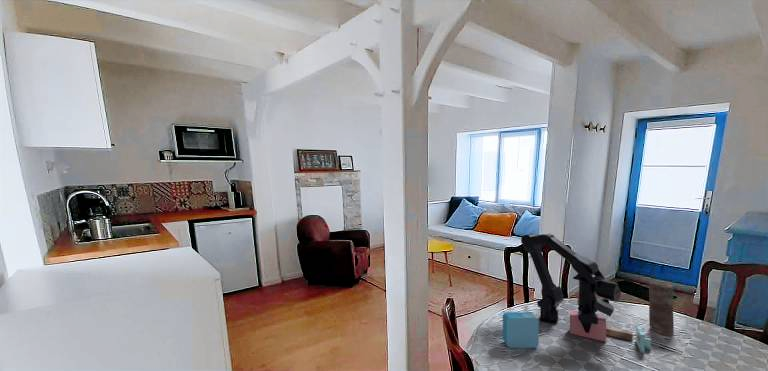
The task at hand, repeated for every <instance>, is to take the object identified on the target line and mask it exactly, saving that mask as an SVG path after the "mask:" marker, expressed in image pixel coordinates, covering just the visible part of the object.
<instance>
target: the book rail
mask: <svg viewBox="0 0 768 371" xmlns="http://www.w3.org/2000/svg"><path fill="white" fill-rule="evenodd" d="M633 335H634V334H633V332H632V331H628V330H624V329H620V328H615V327H609V326H606V336H610V337H615V338H619V339H623V340H624V339H625V340H628V341H633Z"/></svg>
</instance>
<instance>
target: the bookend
mask: <svg viewBox="0 0 768 371" xmlns="http://www.w3.org/2000/svg"><path fill="white" fill-rule="evenodd" d="M635 342H636V343H635V344H636V346H637V348H638V352H639V354H643V355H644V354H645V350H647V351H651V350H652V339H651V337H650V338H648V337H645V333H644V330H643V328H642V325H641V324H640V323H639V324H637V323H636V324H635Z"/></svg>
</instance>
